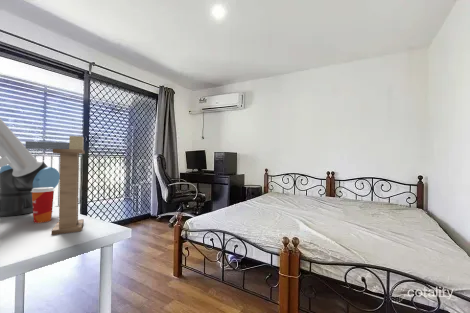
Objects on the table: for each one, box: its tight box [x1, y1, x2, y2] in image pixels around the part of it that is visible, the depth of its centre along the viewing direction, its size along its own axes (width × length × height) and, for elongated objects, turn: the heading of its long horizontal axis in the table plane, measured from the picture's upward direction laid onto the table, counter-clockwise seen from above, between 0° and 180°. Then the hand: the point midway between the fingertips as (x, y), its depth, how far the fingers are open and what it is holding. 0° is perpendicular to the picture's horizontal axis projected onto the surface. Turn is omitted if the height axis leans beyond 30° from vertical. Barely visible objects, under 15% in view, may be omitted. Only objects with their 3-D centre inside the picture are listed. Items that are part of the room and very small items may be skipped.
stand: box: [51, 149, 86, 236], centre depth 85 cm, size 12×8×30 cm
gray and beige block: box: [24, 135, 85, 150], centre depth 83 cm, size 6×16×5 cm, turn 121°
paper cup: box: [31, 187, 56, 224], centre depth 94 cm, size 8×8×14 cm
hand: (1, 159), depth 76 cm, fingers open, 13 cm apart
